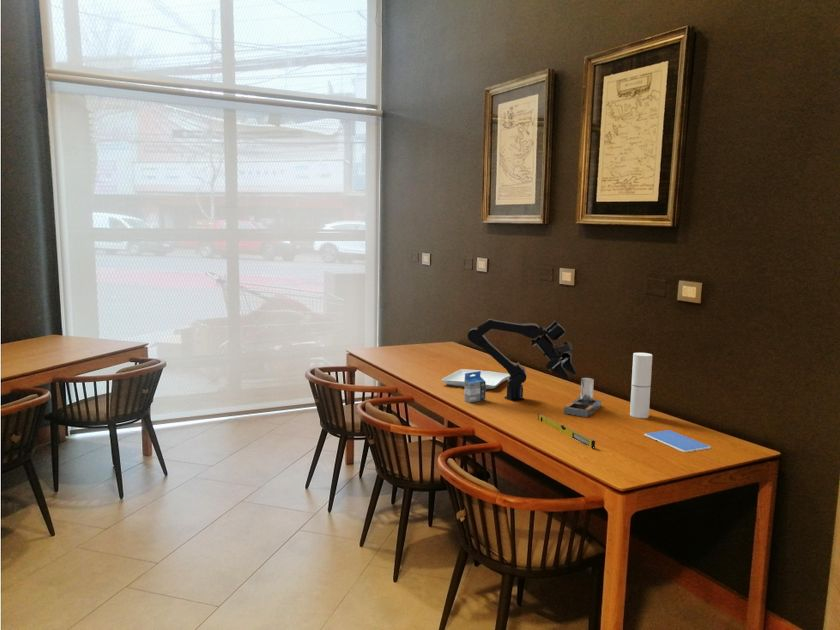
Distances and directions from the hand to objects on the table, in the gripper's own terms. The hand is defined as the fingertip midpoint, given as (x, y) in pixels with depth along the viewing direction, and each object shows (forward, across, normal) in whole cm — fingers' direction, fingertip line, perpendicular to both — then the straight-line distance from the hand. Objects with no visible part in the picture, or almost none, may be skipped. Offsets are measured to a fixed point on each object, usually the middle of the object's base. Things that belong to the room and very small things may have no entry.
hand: (572, 376), depth 262 cm
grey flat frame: (+13, -5, +4) cm, 15 cm away
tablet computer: (+42, -26, -23) cm, 55 cm away
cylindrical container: (+29, 0, -11) cm, 31 cm away
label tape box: (-17, -16, +35) cm, 43 cm away
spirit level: (+16, -39, +2) cm, 42 cm away
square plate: (-27, +13, +45) cm, 54 cm away
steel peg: (+13, 0, +4) cm, 14 cm away
